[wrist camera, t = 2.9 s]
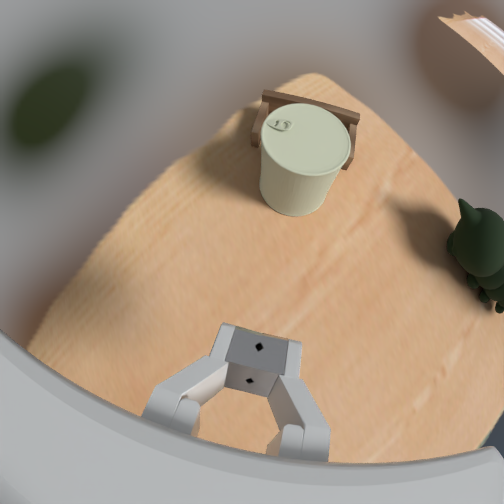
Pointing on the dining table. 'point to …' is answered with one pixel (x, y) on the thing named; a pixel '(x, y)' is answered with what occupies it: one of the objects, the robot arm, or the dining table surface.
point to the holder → (277, 100)
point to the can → (300, 157)
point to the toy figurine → (480, 251)
